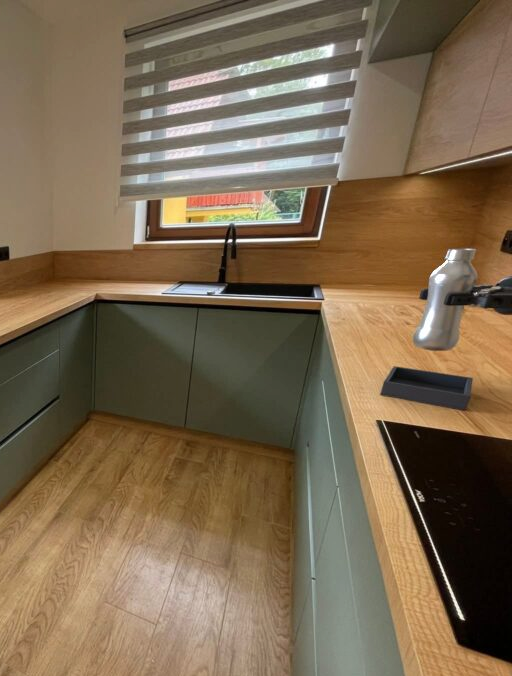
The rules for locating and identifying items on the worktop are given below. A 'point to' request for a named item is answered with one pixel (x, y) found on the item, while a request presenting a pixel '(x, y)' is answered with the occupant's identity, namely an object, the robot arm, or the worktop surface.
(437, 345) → the silver bottle
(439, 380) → the tray
